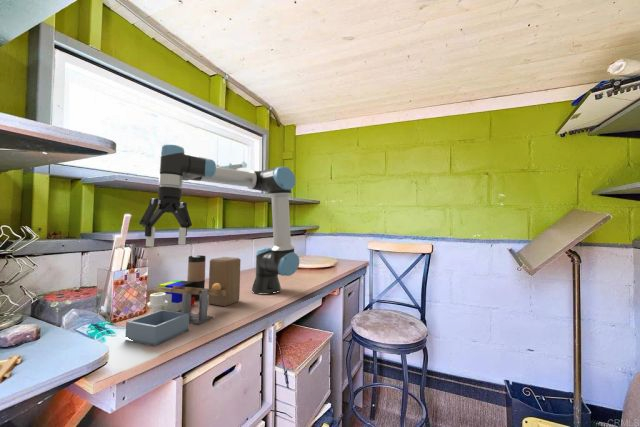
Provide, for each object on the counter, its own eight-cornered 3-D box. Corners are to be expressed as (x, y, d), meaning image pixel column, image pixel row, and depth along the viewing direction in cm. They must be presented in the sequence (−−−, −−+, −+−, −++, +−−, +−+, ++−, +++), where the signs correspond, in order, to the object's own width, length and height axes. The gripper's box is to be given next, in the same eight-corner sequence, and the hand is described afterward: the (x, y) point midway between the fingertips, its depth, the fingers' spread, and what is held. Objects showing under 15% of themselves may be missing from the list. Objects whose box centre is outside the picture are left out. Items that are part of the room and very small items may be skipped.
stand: (189, 314, 104) (190, 285, 104) (213, 318, 100) (214, 288, 101) (174, 320, 97) (176, 289, 98) (199, 324, 94) (200, 292, 94)
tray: (161, 325, 92) (162, 309, 92) (188, 330, 89) (189, 313, 89) (125, 340, 80) (126, 321, 80) (154, 346, 77) (155, 326, 77)
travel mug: (199, 300, 123) (201, 257, 124) (183, 300, 123) (185, 257, 124) (206, 296, 131) (208, 255, 132) (191, 296, 131) (193, 255, 132)
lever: (198, 293, 115) (200, 285, 116) (225, 296, 111) (227, 288, 111) (153, 290, 94) (156, 281, 95) (184, 294, 90) (186, 284, 91)
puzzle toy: (178, 311, 108) (179, 286, 109) (157, 309, 110) (158, 284, 111) (194, 304, 118) (195, 281, 118) (174, 302, 120) (175, 280, 120)
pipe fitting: (171, 313, 105) (172, 292, 106) (154, 319, 98) (155, 297, 99) (159, 311, 107) (160, 291, 108) (142, 316, 101) (143, 295, 101)
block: (207, 304, 118) (208, 258, 119) (222, 298, 127) (224, 256, 128) (225, 307, 114) (226, 260, 115) (240, 301, 124) (241, 257, 125)
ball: (215, 291, 112) (216, 282, 113) (222, 292, 111) (223, 283, 112) (209, 291, 109) (210, 282, 109) (216, 292, 108) (217, 283, 108)
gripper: (188, 192, 111) (185, 243, 110) (129, 181, 87) (124, 246, 86) (203, 192, 109) (200, 244, 107) (146, 180, 85) (142, 247, 84)
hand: (166, 245), depth 97 cm, fingers open, 13 cm apart
